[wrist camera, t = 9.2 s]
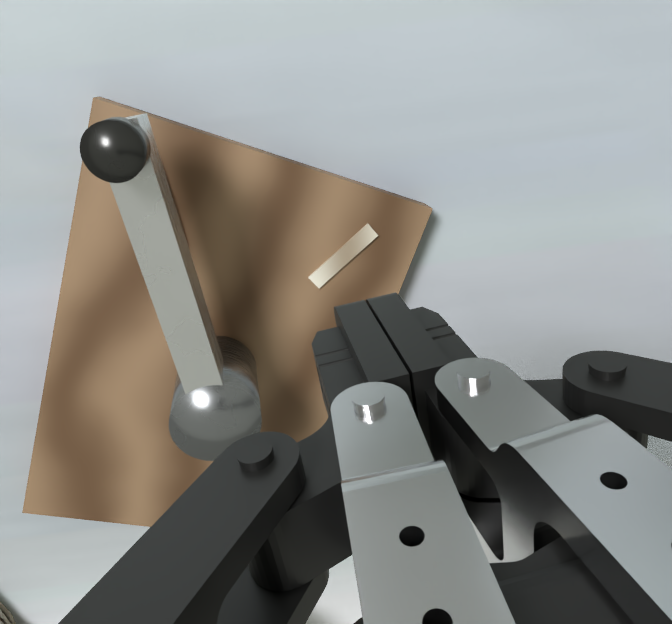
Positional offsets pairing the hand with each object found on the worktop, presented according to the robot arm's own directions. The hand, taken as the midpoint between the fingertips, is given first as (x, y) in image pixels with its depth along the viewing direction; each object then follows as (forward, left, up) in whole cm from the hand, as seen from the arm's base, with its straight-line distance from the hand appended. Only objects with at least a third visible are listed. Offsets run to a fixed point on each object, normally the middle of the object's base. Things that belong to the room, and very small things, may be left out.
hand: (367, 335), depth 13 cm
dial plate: (+1, +13, -22) cm, 25 cm away
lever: (+4, +7, -20) cm, 22 cm away
